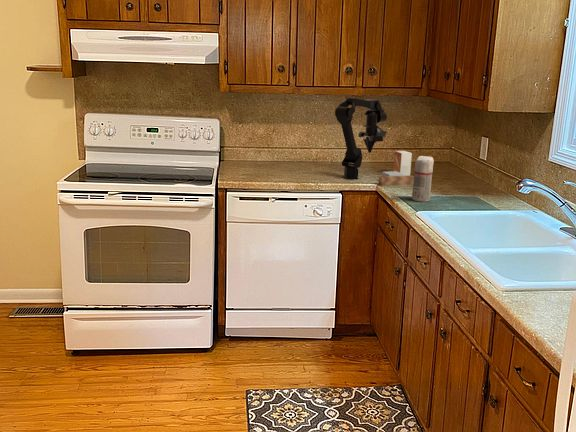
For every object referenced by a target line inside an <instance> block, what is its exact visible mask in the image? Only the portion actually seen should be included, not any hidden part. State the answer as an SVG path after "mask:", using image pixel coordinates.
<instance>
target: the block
mask: <svg viewBox="0 0 576 432" xmlns="http://www.w3.org/2000/svg"><path fill="white" fill-rule="evenodd" d="M383 176H404V174H402V173H399V172H397V171H392V170H391V171H382V173H381V177H383Z"/></svg>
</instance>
